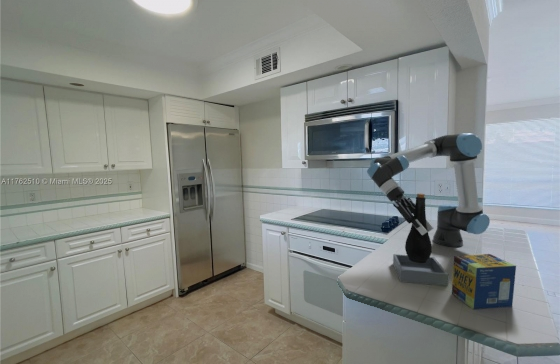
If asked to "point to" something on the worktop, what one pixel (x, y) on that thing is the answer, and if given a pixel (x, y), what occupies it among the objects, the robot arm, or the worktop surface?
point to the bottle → (418, 235)
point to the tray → (420, 271)
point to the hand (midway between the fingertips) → (427, 231)
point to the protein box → (483, 281)
